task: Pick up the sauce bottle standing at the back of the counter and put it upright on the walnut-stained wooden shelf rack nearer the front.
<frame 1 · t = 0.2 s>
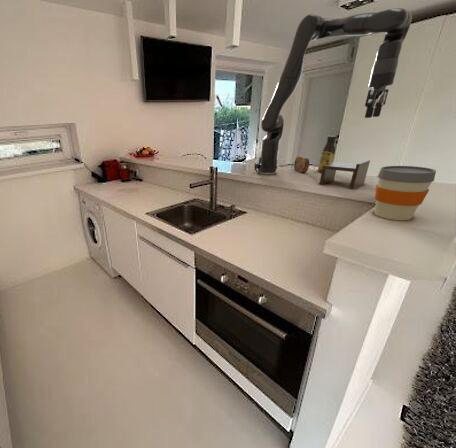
hand: (372, 117, 104), 29 cm above the worktop, tool pointing down, fingers open, 8 cm apart
sauce bottle: (323, 172, 143), on the worktop
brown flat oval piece: (300, 171, 149), on the worktop
shelf: (341, 184, 117), on the worktop
reusable coffee cup: (392, 215, 80), on the worktop
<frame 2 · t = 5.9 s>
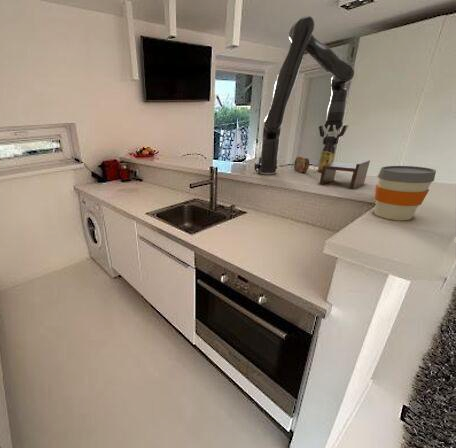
hand: (329, 144, 137), 15 cm above the worktop, tool pointing down, fingers closed on sauce bottle, 4 cm apart
sauce bottle: (324, 172, 143), on the worktop, touching gripper
everything else where it was.
when the fingers open (24 cm above the worktop, at t = 12.3 s): sauce bottle stays where it is, resting on shelf.
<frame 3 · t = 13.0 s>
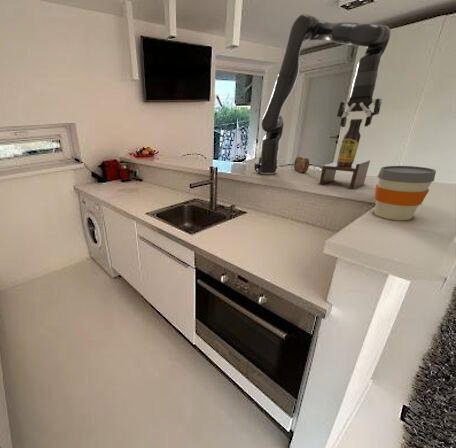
hand: (354, 126, 108), 26 cm above the worktop, tool pointing down, fingers open, 8 cm apart
sauce bottle: (344, 165, 114), point 9 cm above the worktop, touching shelf
everything else where it was.
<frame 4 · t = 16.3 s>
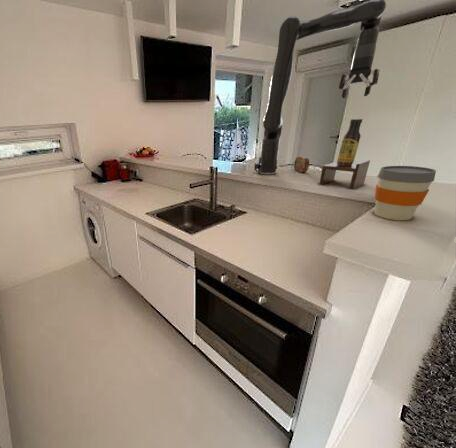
hand: (354, 97, 117), 38 cm above the worktop, tool pointing down, fingers open, 8 cm apart
nothing on the worktop moved.
at the end: sauce bottle inside the target area on the shelf (0.3 cm from its centre), point 8.8 cm above the shelf's base; sauce bottle tilted 0°; the gripper is holding nothing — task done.
